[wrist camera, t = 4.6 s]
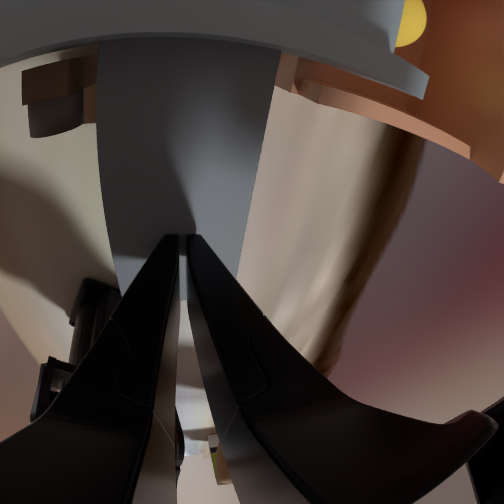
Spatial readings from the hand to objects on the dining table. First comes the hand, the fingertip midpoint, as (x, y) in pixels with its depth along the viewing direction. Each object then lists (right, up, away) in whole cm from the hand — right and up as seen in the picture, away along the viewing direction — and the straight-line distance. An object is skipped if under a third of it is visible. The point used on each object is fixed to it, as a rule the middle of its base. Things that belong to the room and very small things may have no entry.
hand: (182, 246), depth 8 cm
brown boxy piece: (+8, +12, +1) cm, 14 cm away
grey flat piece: (-4, +4, -5) cm, 7 cm away
